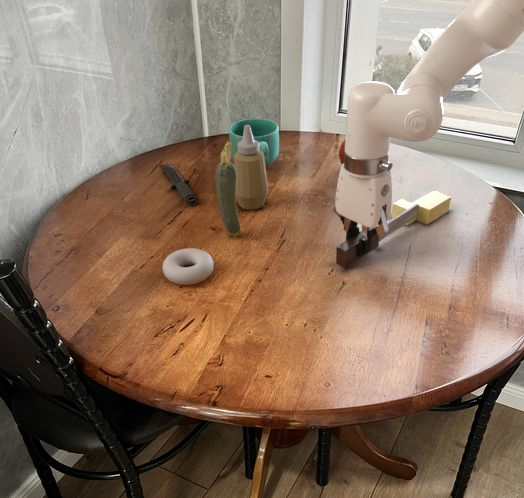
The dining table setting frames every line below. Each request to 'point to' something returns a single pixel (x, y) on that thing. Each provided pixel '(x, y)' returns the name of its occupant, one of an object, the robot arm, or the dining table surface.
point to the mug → (257, 137)
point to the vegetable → (227, 191)
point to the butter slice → (401, 208)
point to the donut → (188, 275)
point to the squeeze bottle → (250, 172)
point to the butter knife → (349, 248)
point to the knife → (181, 185)
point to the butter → (432, 206)
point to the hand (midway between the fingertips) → (357, 250)
